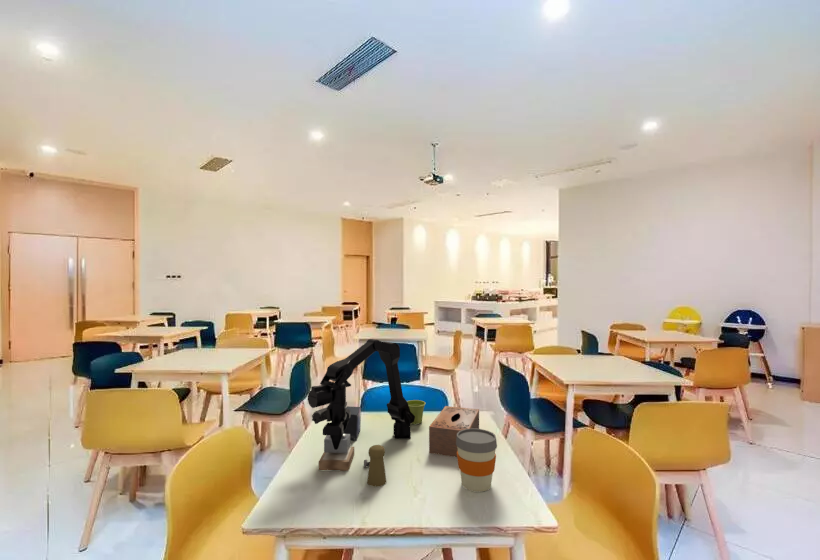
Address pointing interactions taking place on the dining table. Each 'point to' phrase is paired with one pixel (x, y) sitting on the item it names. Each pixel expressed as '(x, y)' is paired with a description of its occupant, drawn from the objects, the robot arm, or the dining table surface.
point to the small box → (353, 422)
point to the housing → (343, 444)
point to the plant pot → (416, 410)
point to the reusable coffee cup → (476, 458)
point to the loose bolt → (366, 463)
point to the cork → (376, 466)
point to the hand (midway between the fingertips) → (337, 446)
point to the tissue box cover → (450, 429)
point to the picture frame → (336, 460)
